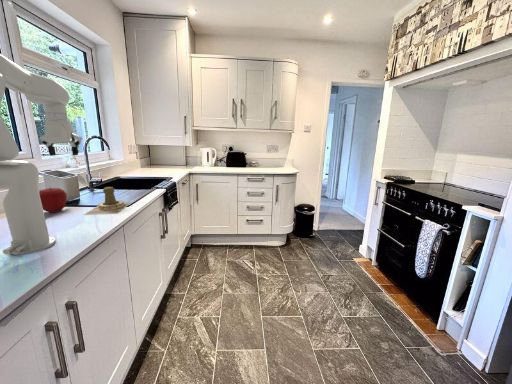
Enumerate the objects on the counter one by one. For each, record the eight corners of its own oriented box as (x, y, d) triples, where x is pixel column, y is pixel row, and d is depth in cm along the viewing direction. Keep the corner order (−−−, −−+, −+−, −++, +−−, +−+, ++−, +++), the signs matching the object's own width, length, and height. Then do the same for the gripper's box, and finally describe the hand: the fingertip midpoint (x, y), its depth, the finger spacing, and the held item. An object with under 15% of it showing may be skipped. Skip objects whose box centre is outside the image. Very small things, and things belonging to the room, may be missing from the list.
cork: (111, 208, 127) (108, 188, 125) (102, 207, 128) (99, 188, 126) (120, 205, 133) (117, 186, 130) (111, 204, 134) (108, 185, 132)
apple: (43, 217, 117) (37, 190, 114) (37, 212, 124) (31, 187, 121) (72, 210, 126) (67, 186, 123) (65, 206, 133) (61, 183, 130)
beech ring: (119, 209, 126) (118, 205, 126) (94, 210, 124) (93, 206, 124) (127, 202, 138) (126, 199, 137) (104, 203, 136) (104, 200, 135)
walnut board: (118, 215, 120) (117, 213, 120) (83, 216, 118) (83, 215, 117) (131, 203, 139) (131, 202, 139) (102, 205, 137) (101, 203, 136)
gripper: (29, 116, 103) (38, 156, 107) (73, 117, 106) (80, 155, 110) (41, 117, 110) (49, 154, 114) (82, 118, 113) (88, 154, 117)
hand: (64, 155), depth 112 cm, fingers open, 9 cm apart
